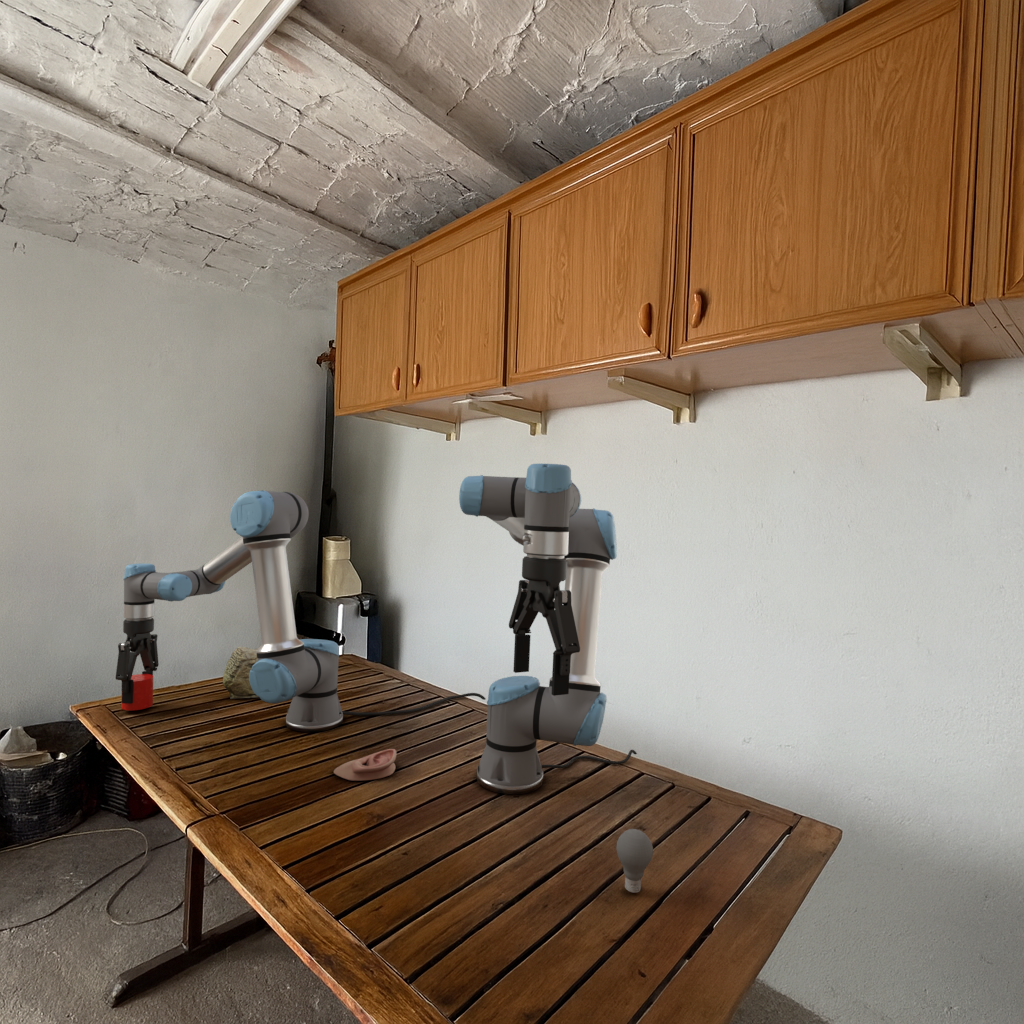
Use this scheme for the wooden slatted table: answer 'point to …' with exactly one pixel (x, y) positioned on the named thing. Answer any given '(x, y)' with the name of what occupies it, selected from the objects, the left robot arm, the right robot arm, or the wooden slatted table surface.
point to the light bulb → (634, 857)
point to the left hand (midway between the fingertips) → (137, 698)
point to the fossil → (240, 673)
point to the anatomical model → (369, 766)
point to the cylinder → (140, 692)
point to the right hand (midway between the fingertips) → (539, 682)
